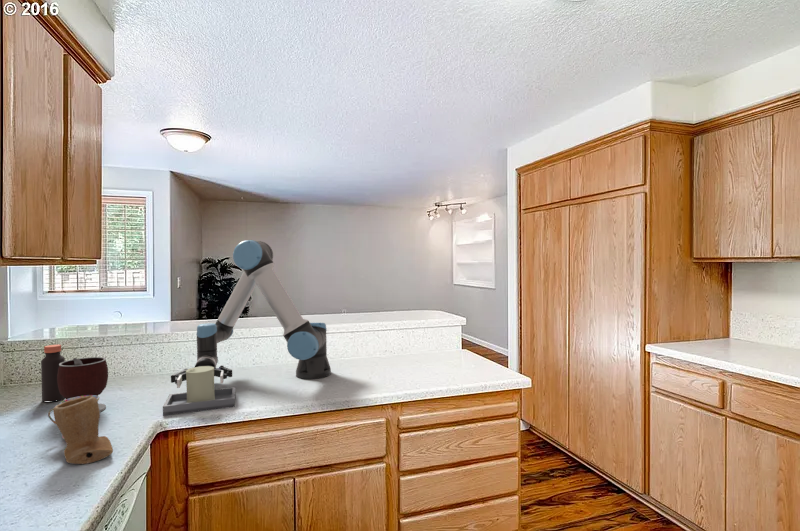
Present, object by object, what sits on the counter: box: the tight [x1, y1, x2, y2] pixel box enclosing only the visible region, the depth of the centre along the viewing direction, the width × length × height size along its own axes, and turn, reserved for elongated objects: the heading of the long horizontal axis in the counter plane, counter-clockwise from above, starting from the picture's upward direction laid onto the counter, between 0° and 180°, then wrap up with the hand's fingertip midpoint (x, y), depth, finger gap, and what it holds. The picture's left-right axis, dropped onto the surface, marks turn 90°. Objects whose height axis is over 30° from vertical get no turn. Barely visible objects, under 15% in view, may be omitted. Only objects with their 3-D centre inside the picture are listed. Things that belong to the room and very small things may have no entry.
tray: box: [162, 386, 236, 416], centre depth 151 cm, size 22×14×3 cm, turn 110°
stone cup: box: [52, 396, 114, 465], centre depth 112 cm, size 15×12×15 cm
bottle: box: [40, 344, 66, 402], centre depth 158 cm, size 7×7×20 cm
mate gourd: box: [57, 356, 109, 413], centre depth 145 cm, size 16×14×20 cm
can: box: [185, 366, 215, 403], centre depth 151 cm, size 9×9×12 cm
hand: (200, 381), depth 148 cm, fingers open, 13 cm apart
